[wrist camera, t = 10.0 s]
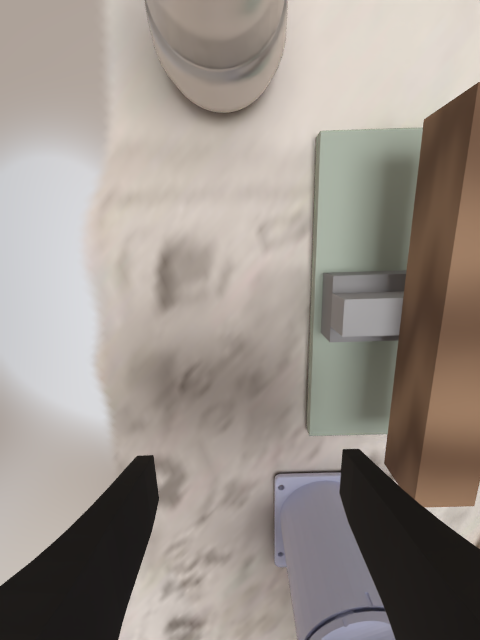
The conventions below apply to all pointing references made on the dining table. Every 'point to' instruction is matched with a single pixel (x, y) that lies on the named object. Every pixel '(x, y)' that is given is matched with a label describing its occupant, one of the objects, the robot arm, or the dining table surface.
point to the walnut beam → (441, 318)
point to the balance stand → (358, 275)
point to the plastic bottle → (219, 47)
